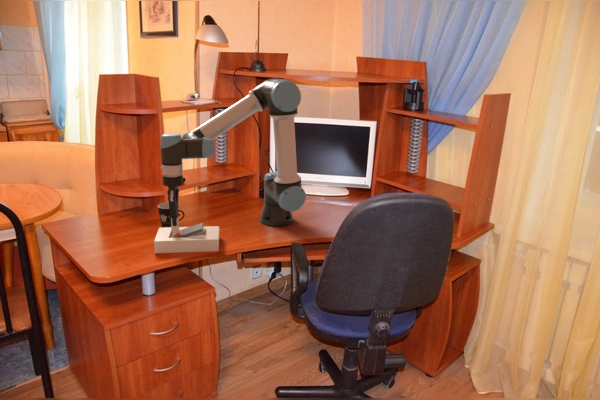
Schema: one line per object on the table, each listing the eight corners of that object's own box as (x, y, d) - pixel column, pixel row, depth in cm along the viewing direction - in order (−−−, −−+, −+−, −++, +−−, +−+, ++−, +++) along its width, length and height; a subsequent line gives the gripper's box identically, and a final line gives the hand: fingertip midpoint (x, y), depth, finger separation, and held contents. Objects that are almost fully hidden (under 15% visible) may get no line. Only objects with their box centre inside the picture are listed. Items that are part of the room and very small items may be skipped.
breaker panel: (219, 237, 186) (219, 226, 184) (218, 251, 172) (218, 239, 171) (160, 238, 182) (159, 227, 180) (154, 253, 169) (153, 241, 167)
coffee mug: (155, 226, 195) (154, 205, 191) (173, 222, 200) (172, 201, 197) (168, 234, 187) (167, 212, 184) (186, 229, 193) (185, 207, 189)
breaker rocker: (203, 225, 179) (202, 222, 179) (202, 231, 173) (201, 228, 172) (173, 235, 178) (172, 232, 178) (171, 241, 172) (170, 238, 172)
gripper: (164, 170, 173) (167, 226, 180) (159, 179, 161) (163, 239, 168) (184, 170, 174) (186, 226, 181) (180, 179, 162) (183, 238, 169)
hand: (175, 232), depth 175 cm, fingers closed
